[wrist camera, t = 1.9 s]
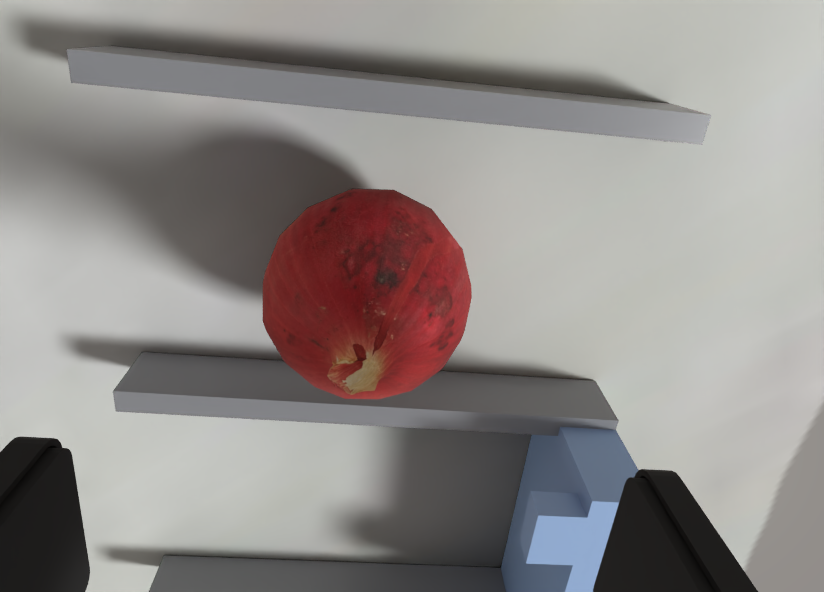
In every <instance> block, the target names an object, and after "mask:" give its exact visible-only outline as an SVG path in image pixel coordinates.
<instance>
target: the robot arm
mask: <svg viewBox="0 0 824 592" xmlns="http://www.w3.org/2000/svg"><path fill="white" fill-rule="evenodd" d="M89 575H90V567H89V560H88V554H87V548H86V541H85V535H84V529H83V522H82V516H81V510H80V503H79V497H78V491H77V484H76V478H75V472H74V465H73V459H72V454H71V451H70V450H69V449H67V448H62V446H61V443H60V442H59V440H57V439H54V438H36V437H17V438H14V439H13V440H12V441H11V442H10V443H9V444H8V445H7V446H6V447H5V448H4V449H3V450H2V451H1V452H0V592H85V590H86V588H87V585H88V581H89ZM593 592H758V591H757V590H756V588H755V587H754V585H753V584H752V582H751V581H750V579H749V578H748V576H747V575H746V573H745V572H744V571H743V569H742V568H741V566H740V565H739V563H738V562H737V560H736V559H735V557H734V556H733V554H732V553H731V551H730V550H729V549H728V547H727V546H726V544H725V543H724V541H723V540H722V538H721V537H720V535H719V534H718V532H717V531H716V529H715V528H714V527H713V525H712V524H711V522H710V521H709V519H708V518H707V516H706V515H705V513H704V512H703V510H702V509H701V507H700V506H699V505H698V503H697V502H696V500H695V499H694V497H693V496H692V494H691V493H690V491H689V490H688V488H687V487H686V486H685V484H684V483H683V481H682V480H681V478H680V477H679V476H678V475H677V473H675V472H673V471H665V470H646V469H642V470H639V471H638V472H637V473H636V474H635V477H630V478H628V479H627V480H626V482H625V485H624V488H623V492H622V495H621V498H620V501H619V505H618V508H617V511H616V515H615V518H614V521H613V524H612V528H611V531H610V534H609V538H608V541H607V544H606V548H605V551H604V554H603V557H602V561H601V564H600V567H599V571H598V574H597V577H596V580H595V584H594V588H593Z"/></svg>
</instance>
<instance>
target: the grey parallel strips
mask: <svg viewBox="0 0 824 592" xmlns="http://www.w3.org/2000/svg"><path fill="white" fill-rule="evenodd" d="M67 56H68V63H69V71H70V78H71V83H80V84H90V85H100V86H110V87H121V88H131V89H141V90H151V91H161V92H172V93H182V94H192V95H202V96H212V97H222V98H233V99H243V100H253V101H263V102H273V103H284V104H294V105H304V106H314V107H324V108H334V109H345V110H355V111H365V112H375V113H385V114H396V115H406V116H416V117H426V118H436V119H446V120H457V121H467V122H477V123H487V124H497V125H508V126H518V127H528V128H538V129H548V130H558V131H569V132H579V133H589V134H599V135H609V136H620V137H630V138H640V139H650V140H660V141H670V142H681V143H691V144H701V145H702V144H703V141H704V137H705V134H706V131H707V127H708V124H709V121H710V118H711V115H709V114H705V113H702V112H698V111H695V110H691V109H688V108H684V107H681V106H677V105H674V104H669V103H659V102H650V101H640V100H630V99H621V98H611V97H601V96H592V95H582V94H572V93H563V92H553V91H543V90H534V89H524V88H514V87H505V86H495V85H485V84H476V83H466V82H456V81H447V80H437V79H427V78H418V77H408V76H398V75H389V74H379V73H369V72H360V71H350V70H340V69H331V68H321V67H311V66H302V65H292V64H283V63H273V62H263V61H254V60H244V59H234V58H225V57H215V56H205V55H196V54H186V53H176V52H167V51H157V50H147V49H138V48H128V47H118V46H98V47H85V48H73V49H67ZM113 395H114V402H115V409H116V411H118V412H136V413H154V414H172V415H190V416H208V417H226V418H243V419H261V420H279V421H297V422H315V423H333V424H351V425H369V426H387V427H405V428H423V429H441V430H459V431H477V432H494V433H512V434H530V435H548V436H558V433H559V429H560V427H572V428H590V429H607V430H616V427H617V424H618V419H617V417H616V416H615V414H614V412H613V410H612V409H611V407H610V405H609V404H608V402H607V400H606V398H605V397H604V395H603V393H602V392H601V390H600V388H599V387H598V385H597V383H596V381H589V380H574V379H558V378H542V377H527V376H511V375H495V374H480V373H464V372H448V371H439V372H437V373H436V374H435V375H433V376H432V377H430V378H429V379H428V380H426V381H425V382H423V383H422V384H421V385H419V386H418V387H416V388H415V389H413V390H412V391H409V392H405V393H401V394H397V395H394V396H390V397H386V398H382V399H344V398H341V397H339V396H336V395H334V394H331V393H329V392H326V391H324V390H321V389H319V388H316V387H314V386H313V385H312V384H310V383H309V382H308V381H307V380H305V379H304V378H303V377H302V376H301V375H299V374H298V373H297V372H296V371H295V370H293V369H292V368H291V367H290V366H289V365H287V364H286V363H285V362H284V361H276V360H260V359H244V358H229V357H213V356H197V355H182V354H166V353H150V352H142V353H141V354H140V355H139V357H138V358H137V359H136V361H135V362H134V363H133V365H132V366H131V368H130V369H129V370H128V372H127V373H126V374H125V376H124V377H123V378H122V380H121V381H120V382H119V384H118V385H117V386H116V388H115V389H114V391H113ZM149 592H506V590H505V585H504V580H503V575H502V571H501V568H490V567H463V566H436V565H409V564H382V563H356V562H329V561H302V560H275V559H248V558H221V557H194V556H167V555H164V556H163V559H162V561H161V564H160V566H159V568H158V571H157V573H156V576H155V578H154V580H153V583H152V585H151V588H150V590H149Z"/></svg>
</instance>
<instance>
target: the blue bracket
mask: <svg viewBox="0 0 824 592" xmlns="http://www.w3.org/2000/svg"><path fill="white" fill-rule="evenodd" d="M638 471H639V470H638V469H637V467H636V465H635V463H634V462H633V460H632V458H631V456H630V454H629V453H628V451H627V449H626V447H625V446H624V444H623V442H622V440H621V439H620V437H619V435H618V433H617V431H616V430H607V429H590V428H572V427H560V429H559V433H558V436H548V435H531V439H530V444H529V448H528V452H527V457H526V461H525V465H524V470H523V474H522V478H521V483H520V487H519V491H518V496H517V500H516V504H515V509H514V513H513V517H512V522H511V526H510V531H509V535H508V539H507V544H506V548H505V552H504V557H503V561H502V565H501V571H502V575H503V580H504V585H505V590H506V592H593V588H594V584H595V580H596V577H597V574H598V571H599V567H600V564H601V561H602V557H603V554H604V551H605V548H606V544H607V541H608V538H609V534H610V531H611V528H612V524H613V521H614V518H615V515H616V511H617V508H618V505H619V501H620V498H621V495H622V492H623V488H624V485H625V482H626V480H627V479H628V478H630V477H635V474H636V473H637V472H638Z"/></svg>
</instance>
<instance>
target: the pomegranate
mask: <svg viewBox="0 0 824 592" xmlns="http://www.w3.org/2000/svg"><path fill="white" fill-rule="evenodd" d="M470 302H471V283H470V279H469V275H468V271H467V267H466V262H465V258H464V254H463V250H462V248H461V247H460V246H459V244H458V243H457V242H456V240H455V239H454V238H453V236H452V235H451V234H450V232H449V231H448V230H447V228H446V227H445V226H444V224H443V223H442V222H441V220H440V219H439V218H438V216H437V215H436V214H435V213H434V211H433V210H432V209H431V208H429V207H427V206H425V205H423V204H421V203H419V202H417V201H415V200H413V199H411V198H409V197H407V196H405V195H403V194H401V193H399V192H397V191H395V190H379V189H350V190H348V191H345V192H343V193H341V194H338V195H336V196H334V197H331V198H329V199H327V200H324V201H322V202H320V203H317V204H315V205H313V206H310V207H308V208H307V209H306V210H305V211H304V212H303V213H302V214H301V215H300V216H299V217H298V218H297V219H296V220H295V221H294V222H293V223H292V224H291V225H290V226H289V227H288V228H287V229H286V230H285V231H284V232H283V233H282V234H281V235H280V236H279V238H278V241H277V243H276V246H275V248H274V251H273V254H272V256H271V259H270V261H269V264H268V266H267V269H266V271H265V275H264V280H263V323H264V326H265V328H266V331H267V333H268V334H269V336H270V338H271V340H272V341H273V343H274V345H275V346H276V348H277V350H278V352H279V353H280V355H281V357H282V359H283V360H284V362H285V363H286V364H287V365H289V366H290V367H291V368H292V369H293V370H295V371H296V372H297V373H298V374H299V375H301V376H302V377H303V378H304V379H305V380H307V381H308V382H309V383H310V384H312V385H313V386H314V387H316V388H319V389H321V390H324V391H326V392H329V393H331V394H334V395H336V396H339V397H341V398H344V399H382V398H386V397H390V396H394V395H397V394H401V393H405V392H409V391H412V390H413V389H415V388H416V387H418V386H419V385H421V384H422V383H423V382H425V381H426V380H428V379H429V378H430V377H432V376H433V375H435V374H436V373H437V372H439V371H440V370H441V369H442V368H443V367H444V366H445V364H446V363H447V361H448V359H449V358H450V356H451V355H452V353H453V352H454V350H455V349H456V347H457V345H458V344H459V342H460V341H461V338H462V336H463V333H464V331H465V326H466V321H467V317H468V312H469V307H470Z"/></svg>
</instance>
